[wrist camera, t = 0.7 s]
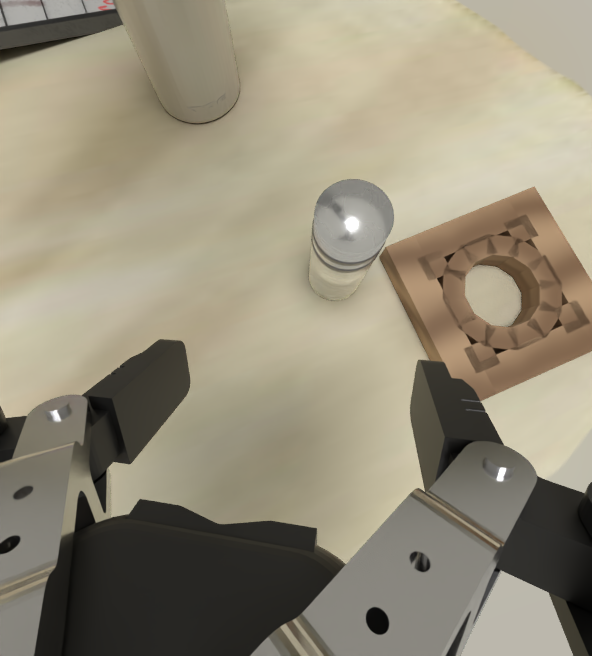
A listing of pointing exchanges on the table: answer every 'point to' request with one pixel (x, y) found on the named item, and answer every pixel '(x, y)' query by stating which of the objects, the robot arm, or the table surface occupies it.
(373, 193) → the salt shaker
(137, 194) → the table surface
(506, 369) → the ring block
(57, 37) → the shutter
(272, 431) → the table surface
